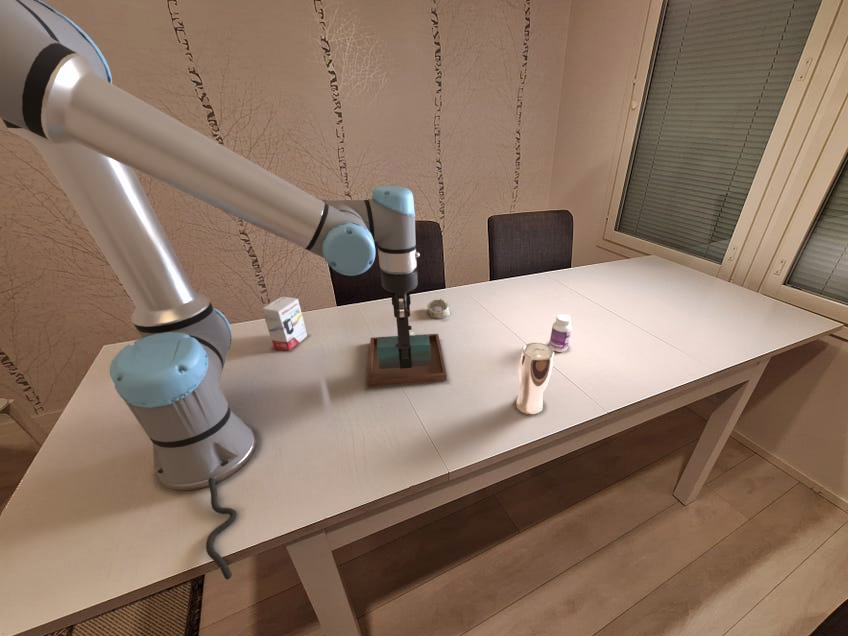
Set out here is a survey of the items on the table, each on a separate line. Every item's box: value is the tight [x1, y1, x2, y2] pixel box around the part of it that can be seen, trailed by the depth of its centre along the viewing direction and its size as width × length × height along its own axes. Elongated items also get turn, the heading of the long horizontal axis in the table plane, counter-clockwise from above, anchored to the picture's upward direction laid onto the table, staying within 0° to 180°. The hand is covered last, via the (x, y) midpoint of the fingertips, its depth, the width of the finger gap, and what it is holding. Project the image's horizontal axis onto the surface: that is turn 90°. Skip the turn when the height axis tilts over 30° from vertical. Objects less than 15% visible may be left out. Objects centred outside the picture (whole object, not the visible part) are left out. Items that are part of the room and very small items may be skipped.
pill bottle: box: [548, 314, 573, 353], centre depth 104 cm, size 5×5×10 cm
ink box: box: [261, 296, 308, 352], centre depth 99 cm, size 9×5×12 cm, turn 168°
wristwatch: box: [426, 298, 451, 319], centre depth 118 cm, size 9×6×5 cm
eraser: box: [376, 333, 431, 369], centre depth 88 cm, size 5×12×6 cm, turn 101°
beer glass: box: [515, 342, 555, 415], centre depth 81 cm, size 7×7×15 cm
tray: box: [366, 333, 448, 388], centre depth 96 cm, size 20×19×2 cm
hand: (405, 360), depth 90 cm, fingers closed on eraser, 5 cm apart
